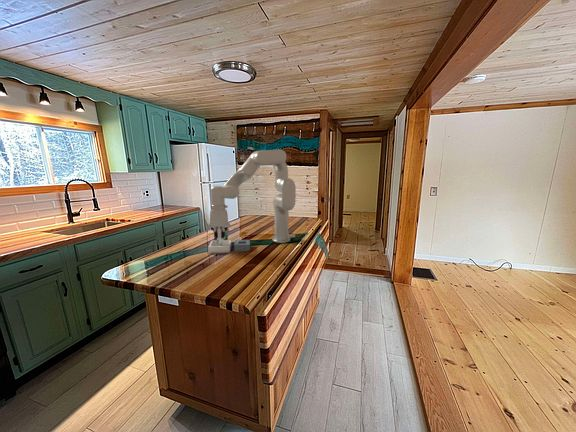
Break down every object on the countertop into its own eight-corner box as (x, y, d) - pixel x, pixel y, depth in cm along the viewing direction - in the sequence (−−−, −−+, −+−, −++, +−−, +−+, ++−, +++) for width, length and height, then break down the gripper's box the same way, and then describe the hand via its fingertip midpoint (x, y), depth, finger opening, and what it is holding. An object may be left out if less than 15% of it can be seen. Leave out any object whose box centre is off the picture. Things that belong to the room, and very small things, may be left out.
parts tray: (231, 246, 147) (231, 239, 146) (229, 252, 135) (229, 246, 134) (211, 246, 145) (211, 240, 144) (208, 253, 133) (208, 247, 133)
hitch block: (249, 246, 147) (249, 239, 146) (249, 250, 139) (249, 244, 138) (235, 246, 146) (235, 240, 145) (234, 251, 137) (234, 245, 136)
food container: (233, 242, 153) (233, 228, 151) (226, 245, 148) (225, 230, 146) (220, 239, 159) (219, 225, 157) (213, 242, 154) (212, 227, 152)
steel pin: (223, 244, 141) (222, 225, 139) (222, 246, 138) (221, 226, 136) (217, 244, 141) (216, 225, 138) (217, 246, 138) (216, 227, 135)
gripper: (233, 206, 140) (234, 235, 144) (204, 206, 137) (206, 236, 141) (232, 208, 133) (233, 239, 136) (202, 209, 130) (204, 240, 134)
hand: (219, 237), depth 139 cm, fingers closed on steel pin, 3 cm apart
